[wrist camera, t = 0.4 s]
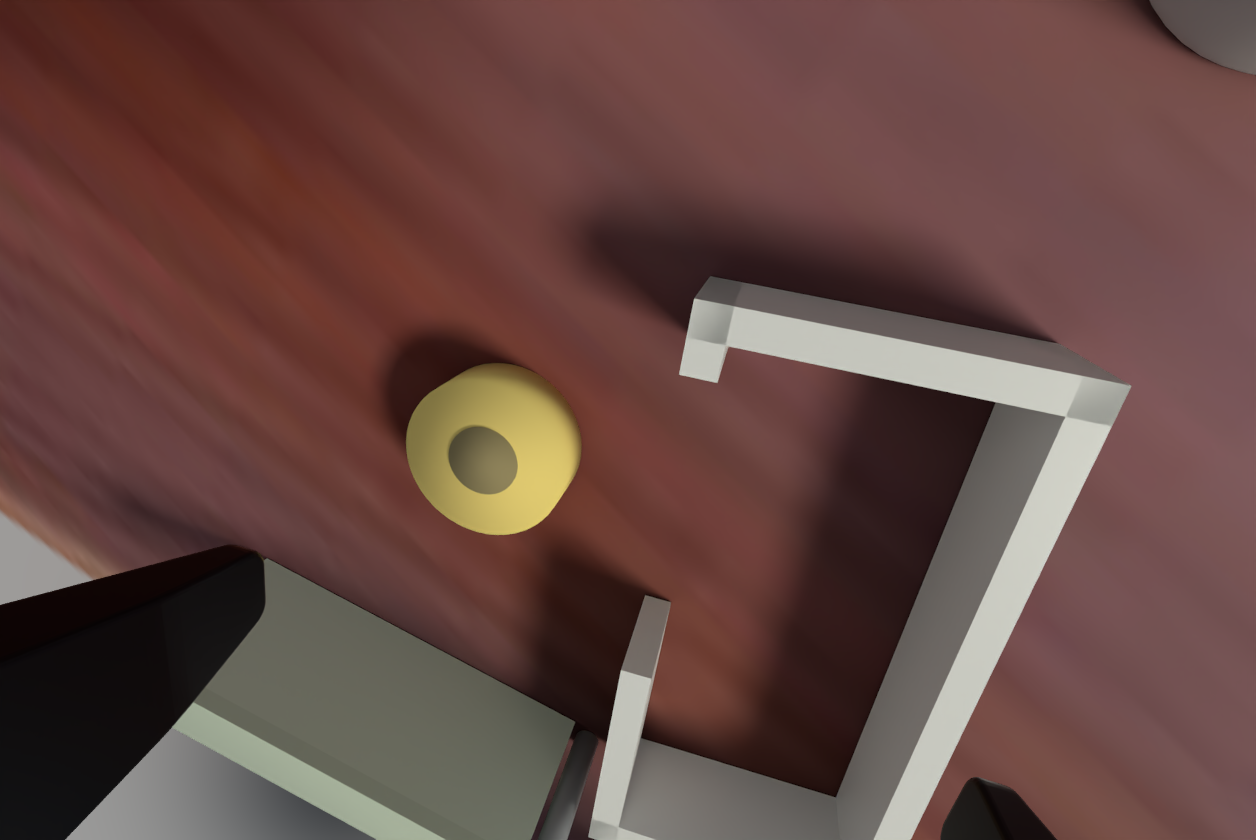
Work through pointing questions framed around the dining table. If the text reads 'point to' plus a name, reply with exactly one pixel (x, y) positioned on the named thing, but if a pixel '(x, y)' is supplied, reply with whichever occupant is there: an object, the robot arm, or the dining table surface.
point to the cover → (377, 723)
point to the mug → (1214, 29)
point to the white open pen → (945, 606)
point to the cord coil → (494, 448)
